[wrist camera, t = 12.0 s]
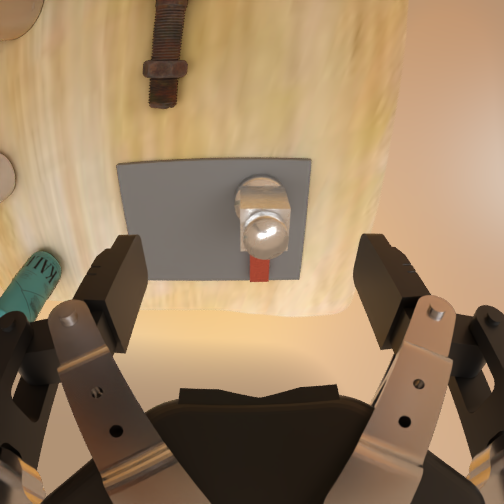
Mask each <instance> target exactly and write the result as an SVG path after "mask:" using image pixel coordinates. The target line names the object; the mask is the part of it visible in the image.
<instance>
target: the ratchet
mask: <svg viewBox="0 0 504 504" xmlns="http://www.w3.org/2000/svg"><path fill="white" fill-rule="evenodd" d="M240 186H283V185H282V183H281V182H280V181H279V180H278V179H276V178H275V177H273V176H271V175H268V174H255V175H251V176H249V177H247V178H245V179H244V180H243V181H242V182H241V183H240V184H239V186H238V187H237V189H236V192H235V212H236V214H237V216H238V218H239V219H240ZM285 192H286V191H285ZM286 195H287V194H286ZM269 262H270V259H268V260H262V259H257V258H255V257H253V256H251V255H250V282H268V281H269Z"/></svg>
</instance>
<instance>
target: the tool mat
mask: <svg viewBox="0 0 504 504" xmlns="http://www.w3.org/2000/svg"><path fill="white" fill-rule="evenodd" d="M116 167H117V173H118V180H119V186H120V192H121V198H122V203H123V209H124V214H125V219H126V224H127V229H128V234H129V235H139V236H140V238H141V241H142V246H143V251H144V256H145V261H146V265H147V270H148V280H187V281H212V280H250V254H249V253H248V252H247V251H241V247H240V219H239V218H238V216H237V214H236V212H235V192H236V189H237V187H238V186H239V184H240V183H241V182H242V181H243V180H244V179H245V178H247V177H249V176H251V175H255V174H268V175H271V176H273V177H275V178H276V179H278V180H279V181H280V182H281V183H282V185H283V186H284V188H285V191H286V194H287V198H288V201H289V205H290V208H291V213H290V226H289V242H288V251H284V252H283V253H282V254H281V255H279V256H278V257H276V258H273V259H270V262H269V280H299V277H300V269H301V261H302V252H303V243H304V234H305V225H306V215H307V205H308V194H309V183H310V172H311V159H302V158H200V159H177V160H159V161H144V162H131V163H119V164H117V165H116Z"/></svg>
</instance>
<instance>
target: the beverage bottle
mask: <svg viewBox="0 0 504 504" xmlns="http://www.w3.org/2000/svg"><path fill="white" fill-rule="evenodd" d="M28 259H29V260H27V262H26V264H25V265H24V264H23V265H24V266H22V269H21V270H20V271H19V272H18V274H17V275H15V278H14V279H12V282H11V284H10V285H9V286H8V288H7V289H6V290H5V292H4V293H3V295H2V296H1V297H0V317H2V316H3V315H4V314H6V313H8V312H11V311H21V312H23V313H24V314H25V315H26V317H27V319H28V321H29V322H34V321H35V319H36V318H37V316H38V314H39V312H40V311H41V309H42V307H43V305H44V304H45V302H46V300H48V298H49V296H51V292H53V291H52V290H53V289H55V288H54V287H56V285H57V283H59V282H58V281H59V279H61V278H60V277H61V267H60V265H59V263H58V261H57V260H56V259H55V258H54V257H53V256H52V255H51V254H49V253H47V252H44V251H38V252H36V253H34V254H33V255H32V256H31V257H29V258H28Z"/></svg>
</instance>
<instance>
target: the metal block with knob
mask: <svg viewBox="0 0 504 504" xmlns="http://www.w3.org/2000/svg"><path fill="white" fill-rule="evenodd" d="M290 213H291V208H290V205H289V201H288V198H287V195H286V192H285V188H284V186H240V247H241V251H247V252H248V253H249V254H250V255H251V256H253V257H255V258H257V259H262V260H268V259H273V258H276V257H278V256H279V255H281V254H282V253H283V252H284V251H288V242H289V226H290Z"/></svg>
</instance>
